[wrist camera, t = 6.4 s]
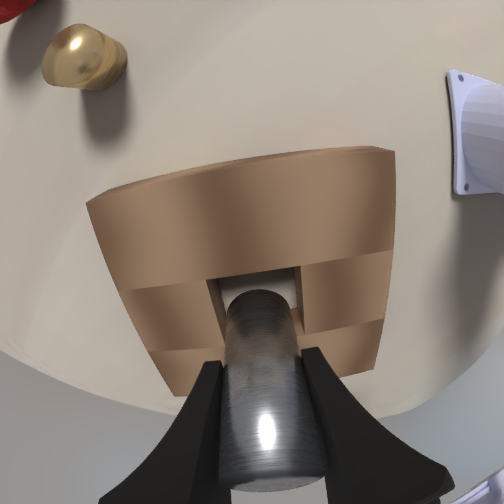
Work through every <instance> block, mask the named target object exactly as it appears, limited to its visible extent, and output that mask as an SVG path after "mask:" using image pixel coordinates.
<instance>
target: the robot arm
mask: <svg viewBox="0 0 504 504" xmlns="http://www.w3.org/2000/svg"><path fill="white" fill-rule="evenodd" d="M458 77H459V78H458ZM447 79H448V86H449V92H450V100H451V109H452V120H453V136H454V186H453V187H454V191H455V193H456V194H459V195H469V194H482V193H497V192H499V193H501V194H503V195H504V85H498V84H496V83H493V82H490V81H488V80H485V79H482V78H479V77H477V76H474V75H471V74H467V73H464V72H461V71H458V70H454V69H452V70H448V71H447ZM459 79H460V80H459ZM464 186H465V188H464ZM301 359H302V363H303V368H304V372H305V377H306V381H307V385H308V389H309V394H310V399H311V403H312V408H313V413H314V417H315V422H316V427H317V432H318V437H319V442H320V447H321V452H322V457H323V462H324V467H325V472H326V473H325V475H324V476H325V483H326V490H327V497H328V504H440V499H439V497H441V496H442V495H444V494H446V493H448V492H450V491H451V490H453V489H454V487H455V484H454V481H453V479H452V477H451V475H450V473H449V472H448V470H447V468H446V467H445V466H443V465H441V464H439V463H437V462H435V461H433V460H431V459H429V458H428V457H426V456H424V455H422V454H420V453H419V452H418V451H416V450H414V449H413V448H411V447H410V446H408V445H407V444H405V443H404V442H403V441H401V440H400V439H399V438H397V437H396V436H395V435H393V434H392V433H391V432H390V431H388V430H387V429H386V428H385V427H384V426H382V425H381V424H380V423H379V422H378V421H377V420H376V419H375V418H374V417H373V416H372V415H371V414H370V413H369V412H368V411H367V410H366V409H365V408H364V407H363V406H362V405H361V404H360V403H359V402H358V401H357V400H356V399H355V397H354V396H353V395H352V394H351V393H350V392H349V390H348V389H347V388H346V387H345V385H344V384H343V383H342V382H341V380H340V379H339V378H338V376H337V375H336V374H335V372H334V371H333V369H332V368H331V366H330V365H329V363H328V362H327V360H326V359H325V357H324V355H323V353H322V352H321V350H320V348H319V347H317V346H316V347H311V348H305V349H301ZM223 369H224V368H223V365H222V362H221V360H215V361H205V362H204V363H203V365H202V368H201V370H200V373H199V375H198V377H197V379H196V381H195V383H194V386H193V388H192V390H191V392H190V394H189V396H188V397H187V399H186V401H185V403H184V405H183V407H182V409H181V410H180V412H179V414H178V415H177V417H176V419H175V420H174V422H173V423H172V425H171V427H170V428H169V430H168V431H167V433H166V434H165V435H164V437H163V438H162V440H161V441H160V442H159V443H158V445H157V446H156V447H155V449H154V450H153V451H152V452H151V453H150V454H149V456H148V457H147V458H146V459H145V460H144V461H143V462H142V464H140V466H139V467H138V468H136V470H134V471H133V472H132V473H131V474H130V475H129V476H128V477H127V478H126V479H125V480H124V481H122V482H121V483H120V484H119V485H118V486H116V487H115V488H114V489H112V490H111V491H109V492H108V493H107V494H105V495H104V496H103V497H101V498H100V499H99V502H98V504H231V490H230V489H229V488H226V487H224V486H222V485H220V484H219V482H218V477H219V449H220V425H221V405H222V386H223ZM449 504H504V467H502V468H501V469H499V470H498V471H496V472H494V473H493V474H491V475H490V476H488V477H487V478H485V479H484V480H483V481H481V482H480V483H478V484H477V485H475V486H474V487H473V488H472V489H471V490H470V491H468V492H467V493H465V494H464V495H462V496H461V497H459V498H457V499H456V500H454V501H452V502H450V503H449Z"/></svg>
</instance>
